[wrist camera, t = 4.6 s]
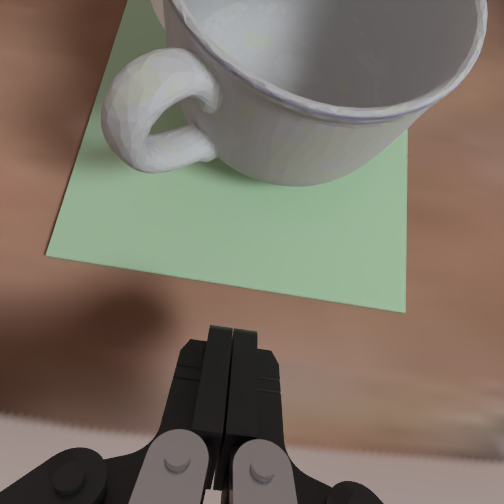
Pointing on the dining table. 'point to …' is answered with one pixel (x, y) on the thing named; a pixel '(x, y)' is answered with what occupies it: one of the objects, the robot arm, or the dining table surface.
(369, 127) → the teacup
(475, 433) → the dining table surface
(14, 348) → the dining table surface
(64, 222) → the putting green
